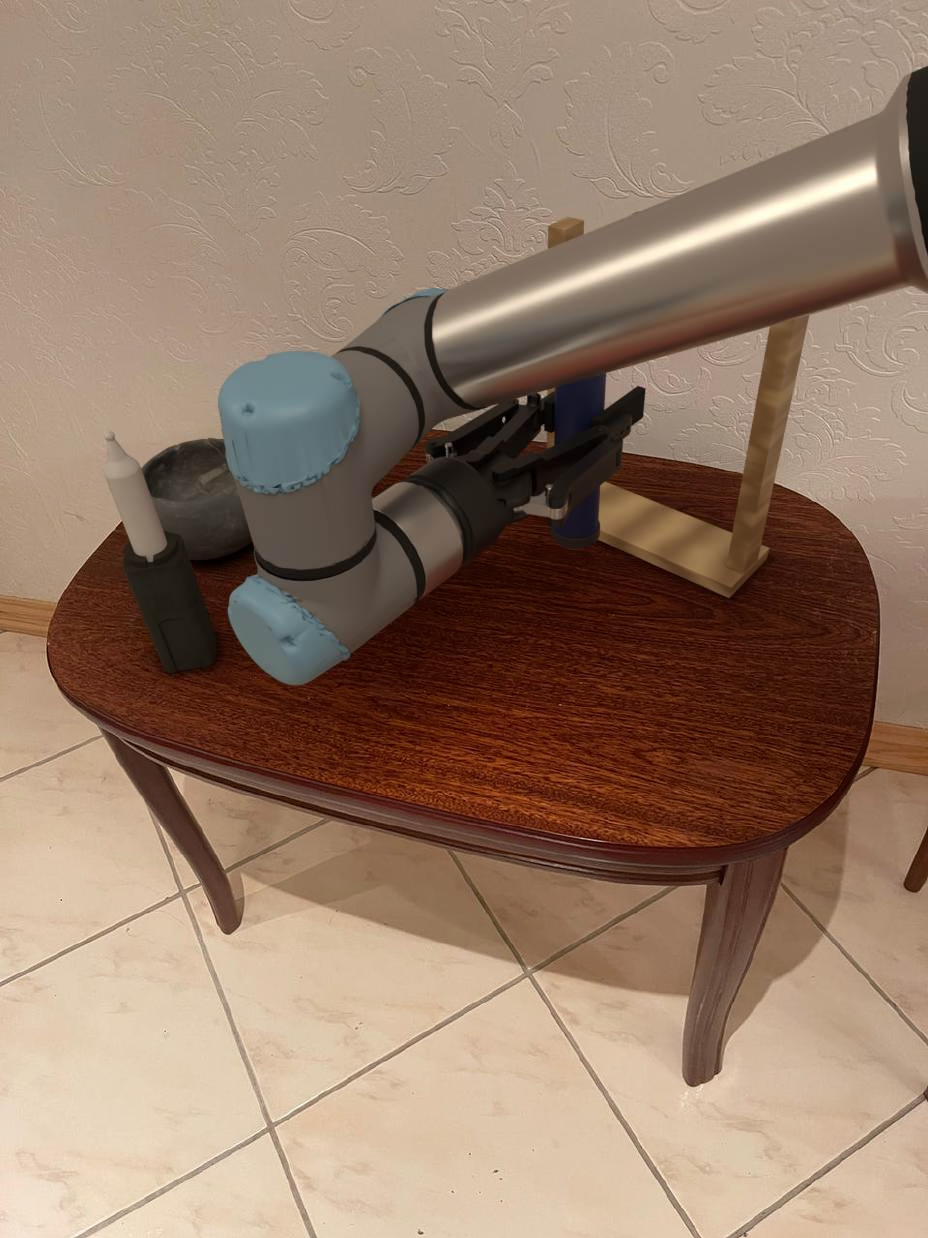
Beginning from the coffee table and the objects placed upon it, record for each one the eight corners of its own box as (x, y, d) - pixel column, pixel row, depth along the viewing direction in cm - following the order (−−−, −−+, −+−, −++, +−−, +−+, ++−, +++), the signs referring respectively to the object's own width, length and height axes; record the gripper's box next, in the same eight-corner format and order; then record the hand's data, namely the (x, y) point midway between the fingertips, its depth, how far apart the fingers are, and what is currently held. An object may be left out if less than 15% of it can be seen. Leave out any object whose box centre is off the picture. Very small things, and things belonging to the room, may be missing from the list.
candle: (163, 675, 86) (71, 452, 69) (165, 640, 89) (78, 420, 73) (216, 666, 86) (137, 442, 69) (216, 631, 90) (142, 411, 73)
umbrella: (580, 554, 78) (592, 257, 60) (541, 536, 80) (541, 244, 63) (643, 501, 83) (671, 213, 66) (604, 485, 85) (621, 203, 68)
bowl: (135, 533, 103) (107, 459, 97) (255, 490, 108) (236, 418, 102) (172, 602, 94) (144, 526, 87) (302, 552, 99) (285, 476, 92)
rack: (767, 559, 93) (832, 262, 72) (728, 598, 89) (786, 295, 68) (574, 479, 106) (582, 208, 85) (533, 511, 102) (531, 233, 81)
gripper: (354, 525, 70) (537, 404, 82) (524, 615, 61) (700, 464, 73) (339, 442, 65) (536, 326, 77) (522, 527, 56) (712, 380, 68)
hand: (616, 393), depth 75 cm, fingers closed on umbrella, 4 cm apart
